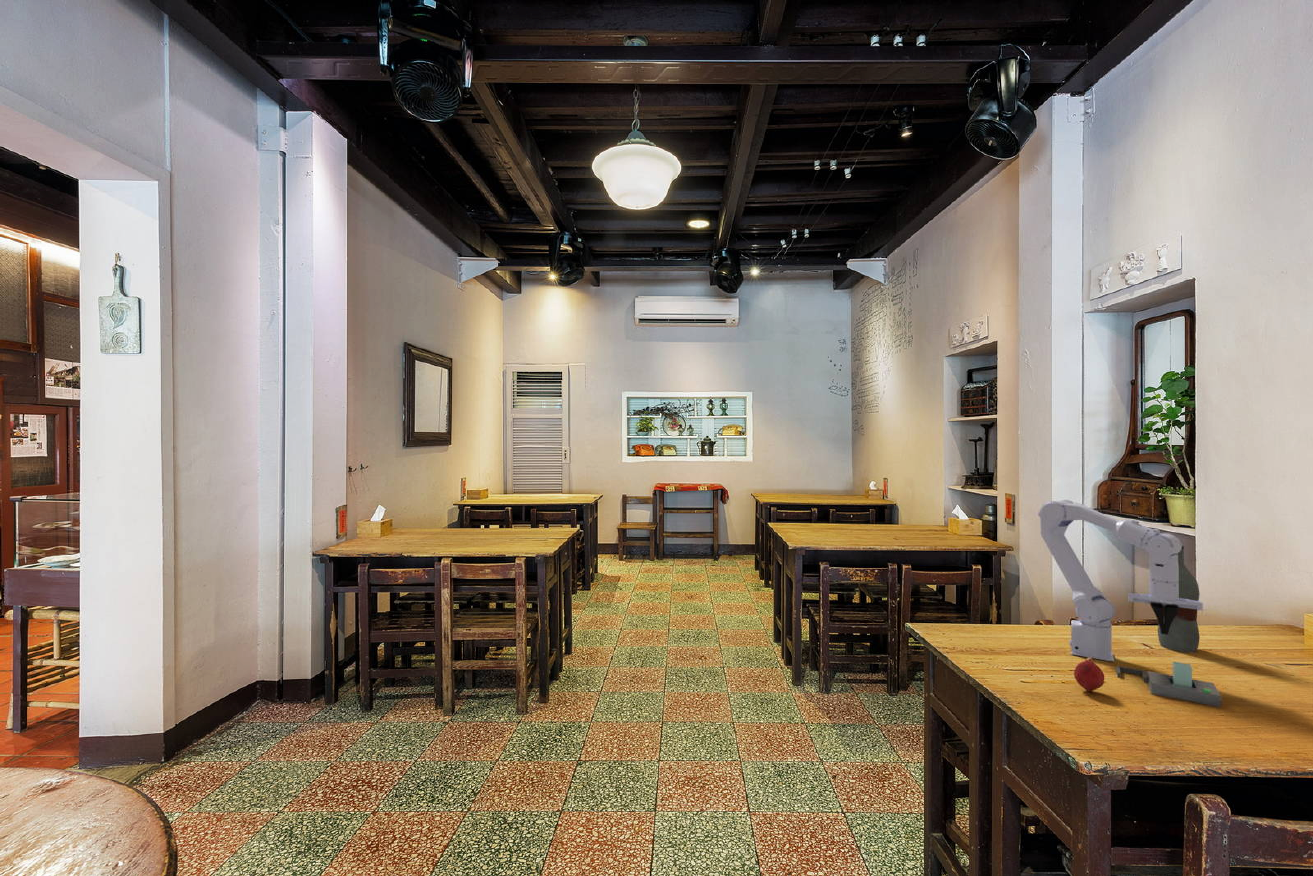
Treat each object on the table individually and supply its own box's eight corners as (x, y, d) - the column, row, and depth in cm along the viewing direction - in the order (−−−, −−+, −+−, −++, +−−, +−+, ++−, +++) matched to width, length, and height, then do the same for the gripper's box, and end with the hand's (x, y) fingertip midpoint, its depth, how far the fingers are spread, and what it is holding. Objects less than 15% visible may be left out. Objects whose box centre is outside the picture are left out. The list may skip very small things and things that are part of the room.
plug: (1174, 695, 138) (1174, 665, 138) (1173, 690, 140) (1172, 661, 140) (1191, 698, 136) (1191, 668, 136) (1189, 694, 138) (1189, 664, 138)
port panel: (1151, 693, 138) (1151, 680, 138) (1147, 681, 145) (1147, 669, 145) (1221, 707, 131) (1220, 693, 131) (1213, 694, 138) (1213, 680, 138)
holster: (1117, 677, 148) (1117, 672, 148) (1116, 670, 153) (1116, 665, 153) (1146, 682, 145) (1146, 677, 145) (1144, 675, 149) (1144, 670, 149)
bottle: (1183, 654, 165) (1183, 548, 166) (1149, 643, 174) (1149, 543, 175) (1208, 652, 167) (1208, 547, 168) (1173, 641, 176) (1173, 542, 177)
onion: (1095, 698, 135) (1096, 664, 135) (1068, 689, 140) (1069, 655, 140) (1109, 694, 138) (1109, 660, 138) (1082, 685, 143) (1082, 652, 143)
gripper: (1129, 579, 152) (1129, 631, 152) (1204, 587, 144) (1205, 643, 143) (1127, 574, 158) (1127, 625, 157) (1199, 582, 149) (1200, 635, 149)
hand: (1164, 633), depth 151 cm, fingers closed
